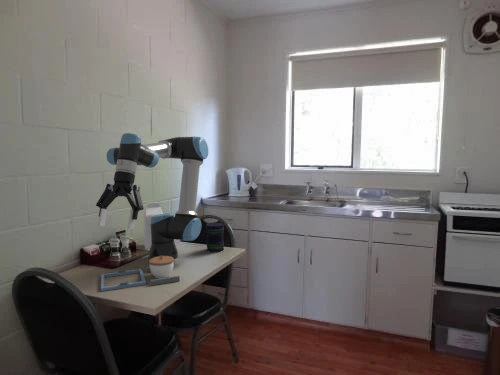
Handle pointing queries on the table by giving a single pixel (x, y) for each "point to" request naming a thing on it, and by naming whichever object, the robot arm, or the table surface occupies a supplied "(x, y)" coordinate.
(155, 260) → the lidded jar
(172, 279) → the charcoal rails
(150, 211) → the milk
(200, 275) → the table surface
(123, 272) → the frame
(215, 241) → the storage jar
